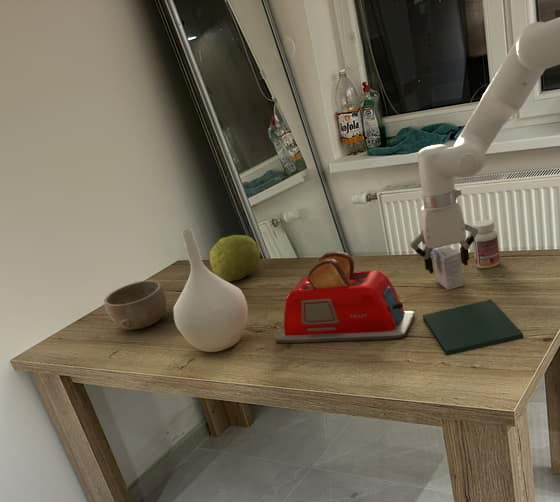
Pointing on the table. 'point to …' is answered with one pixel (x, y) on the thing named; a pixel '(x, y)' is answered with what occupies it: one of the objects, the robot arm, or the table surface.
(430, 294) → the table surface
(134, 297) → the bowl
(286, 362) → the table surface
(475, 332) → the mat
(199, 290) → the vase
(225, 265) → the fruit
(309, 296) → the toaster
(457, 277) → the medicine box
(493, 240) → the pill bottle
